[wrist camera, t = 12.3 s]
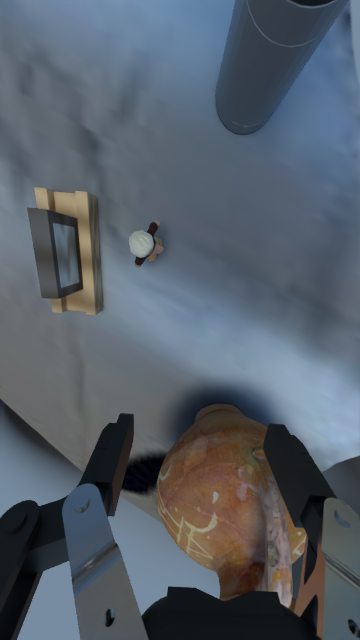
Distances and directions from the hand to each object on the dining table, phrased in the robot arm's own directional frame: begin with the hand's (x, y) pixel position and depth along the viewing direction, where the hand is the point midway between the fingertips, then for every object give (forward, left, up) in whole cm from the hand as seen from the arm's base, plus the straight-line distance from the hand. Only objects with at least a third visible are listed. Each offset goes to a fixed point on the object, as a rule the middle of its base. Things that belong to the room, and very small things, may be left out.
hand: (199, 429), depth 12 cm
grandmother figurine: (-10, -7, -30) cm, 33 cm away
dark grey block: (-7, -21, -28) cm, 36 cm away
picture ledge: (-7, -21, -30) cm, 37 cm away
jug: (+31, +11, -30) cm, 45 cm away
